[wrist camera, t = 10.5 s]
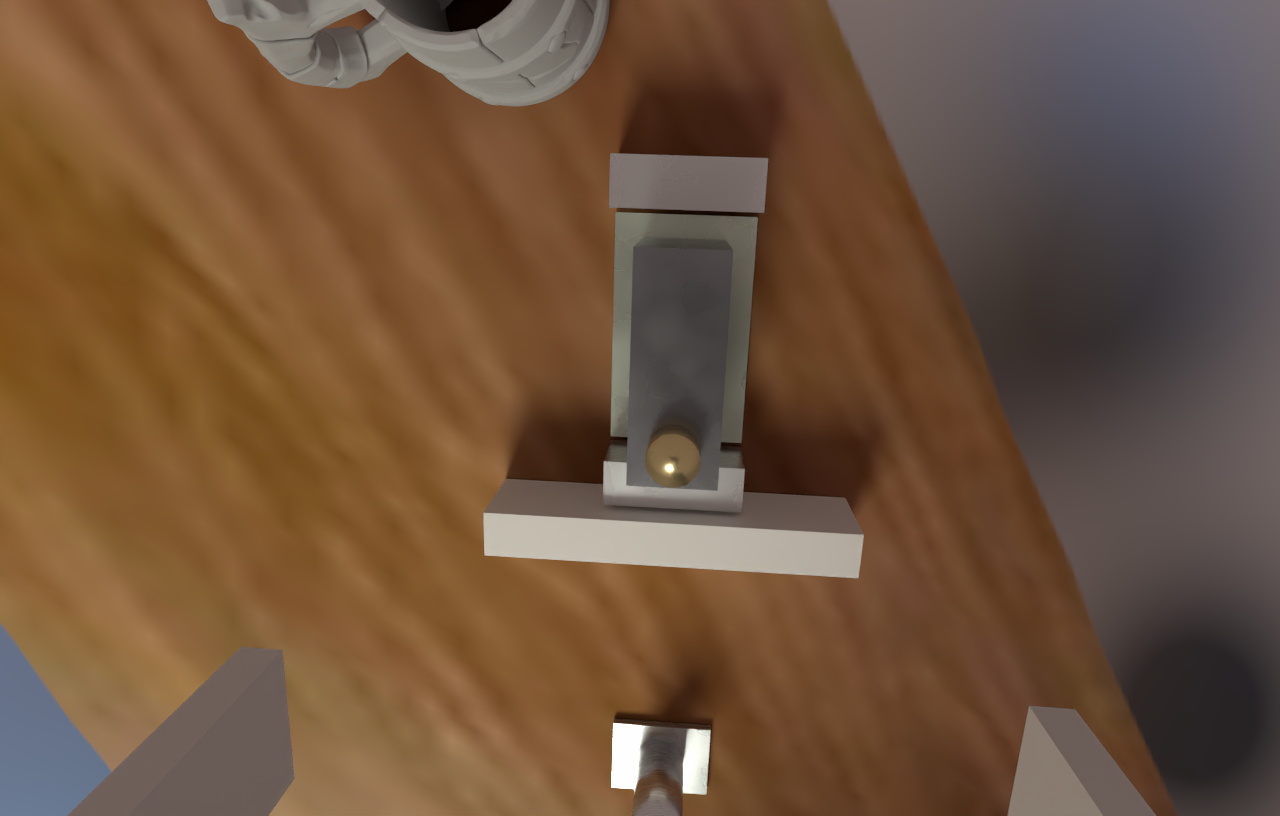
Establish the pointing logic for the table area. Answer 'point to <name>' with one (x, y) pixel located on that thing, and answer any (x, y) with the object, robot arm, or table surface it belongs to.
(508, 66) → the mug
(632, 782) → the grey knobbed fixture
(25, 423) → the table surface
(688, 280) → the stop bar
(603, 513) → the door edge
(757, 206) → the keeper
